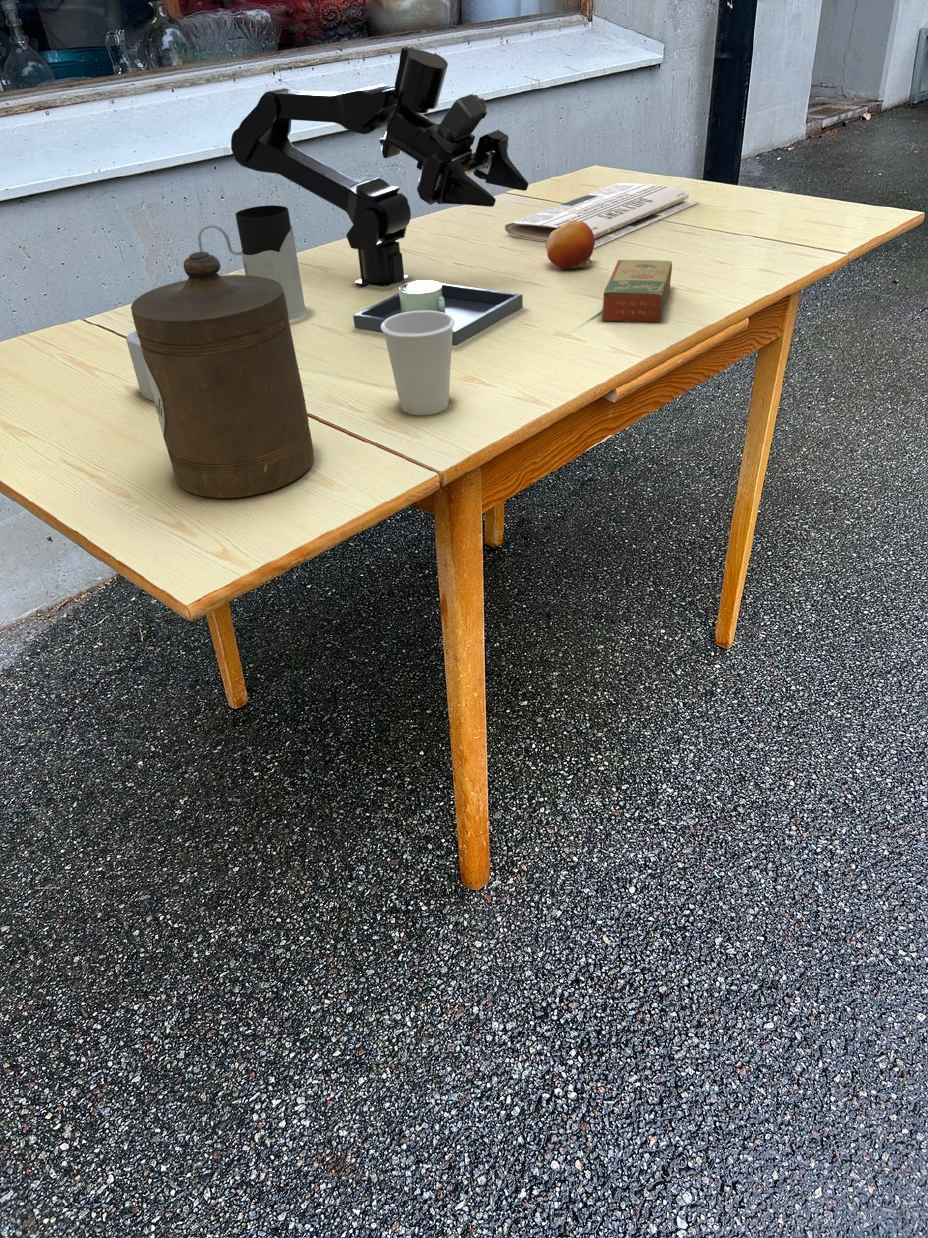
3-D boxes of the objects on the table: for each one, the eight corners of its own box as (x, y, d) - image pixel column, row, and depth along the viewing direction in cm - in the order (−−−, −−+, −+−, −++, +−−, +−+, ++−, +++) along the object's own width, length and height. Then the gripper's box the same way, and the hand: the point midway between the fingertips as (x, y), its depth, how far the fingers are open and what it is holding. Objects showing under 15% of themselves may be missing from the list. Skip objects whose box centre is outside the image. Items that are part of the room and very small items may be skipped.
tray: (355, 331, 133) (352, 314, 132) (426, 296, 145) (424, 280, 143) (456, 349, 125) (454, 331, 124) (523, 310, 136) (522, 294, 135)
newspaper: (612, 194, 194) (612, 180, 193) (696, 203, 184) (697, 188, 182) (505, 235, 172) (504, 219, 170) (593, 248, 162) (593, 231, 160)
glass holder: (307, 323, 137) (289, 215, 129) (211, 331, 137) (187, 224, 128) (310, 305, 144) (294, 202, 136) (219, 312, 144) (197, 209, 135)
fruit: (603, 262, 149) (578, 218, 146) (561, 288, 152) (536, 245, 149) (607, 249, 155) (583, 205, 152) (567, 274, 159) (542, 232, 156)
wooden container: (218, 432, 107) (172, 232, 94) (335, 442, 103) (304, 234, 90) (147, 493, 96) (84, 275, 83) (277, 506, 92) (231, 279, 79)
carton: (671, 288, 141) (673, 259, 139) (661, 323, 129) (663, 292, 126) (616, 286, 143) (617, 257, 141) (601, 321, 131) (602, 290, 128)
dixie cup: (404, 425, 106) (395, 339, 100) (380, 400, 112) (370, 318, 106) (471, 410, 108) (466, 325, 102) (443, 386, 115) (437, 305, 109)
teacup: (394, 329, 131) (390, 289, 128) (418, 316, 135) (415, 277, 132) (433, 335, 128) (430, 295, 125) (457, 322, 132) (455, 283, 129)
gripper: (400, 95, 123) (494, 153, 120) (475, 73, 135) (562, 125, 132) (382, 176, 131) (469, 232, 128) (454, 148, 143) (536, 199, 140)
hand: (511, 194), depth 132 cm, fingers open, 9 cm apart
